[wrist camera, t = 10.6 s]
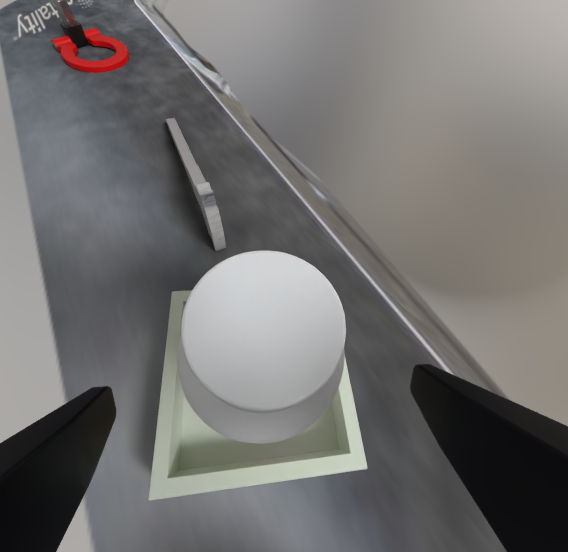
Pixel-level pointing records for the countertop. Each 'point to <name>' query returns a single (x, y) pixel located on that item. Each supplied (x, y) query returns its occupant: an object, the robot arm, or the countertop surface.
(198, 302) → the supplement bottle
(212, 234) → the caliper
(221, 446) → the sage tray
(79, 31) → the tow hook
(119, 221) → the countertop surface
